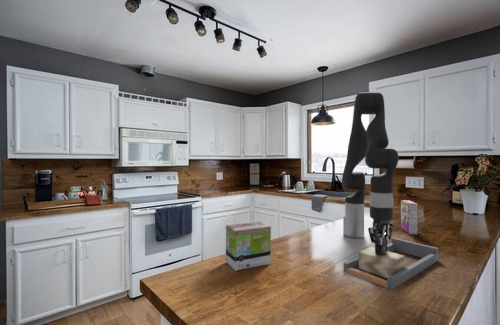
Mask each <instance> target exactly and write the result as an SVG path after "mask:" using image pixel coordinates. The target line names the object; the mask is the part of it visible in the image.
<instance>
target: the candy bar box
mask: <svg viewBox="0 0 500 325" xmlns="http://www.w3.org/2000/svg"><path fill="white" fill-rule="evenodd" d="M418 207H419V204H418V203H416V202H414V201H411V200H407V199H406V200H405V199H403V200H401V199H400V230H403V231H404V232H405V233H406V234H407V235H415V236H417V235H419V208H418Z"/></svg>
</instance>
